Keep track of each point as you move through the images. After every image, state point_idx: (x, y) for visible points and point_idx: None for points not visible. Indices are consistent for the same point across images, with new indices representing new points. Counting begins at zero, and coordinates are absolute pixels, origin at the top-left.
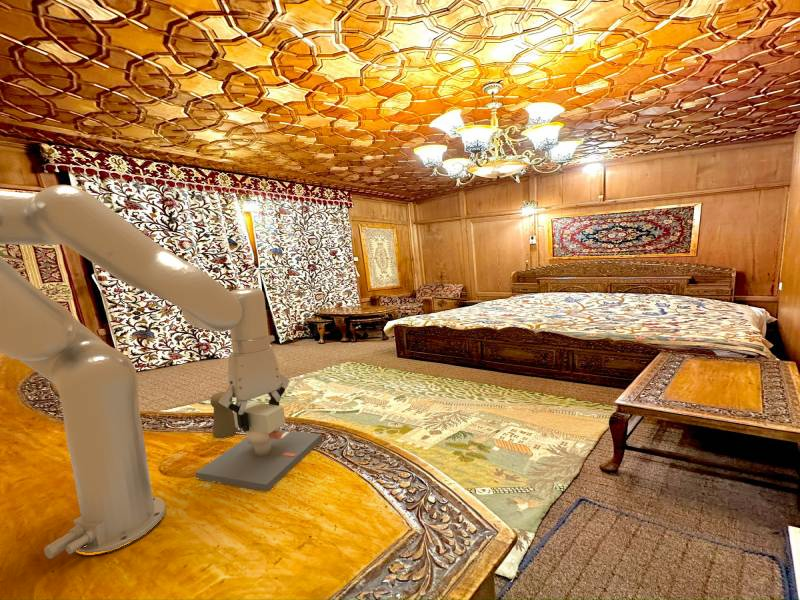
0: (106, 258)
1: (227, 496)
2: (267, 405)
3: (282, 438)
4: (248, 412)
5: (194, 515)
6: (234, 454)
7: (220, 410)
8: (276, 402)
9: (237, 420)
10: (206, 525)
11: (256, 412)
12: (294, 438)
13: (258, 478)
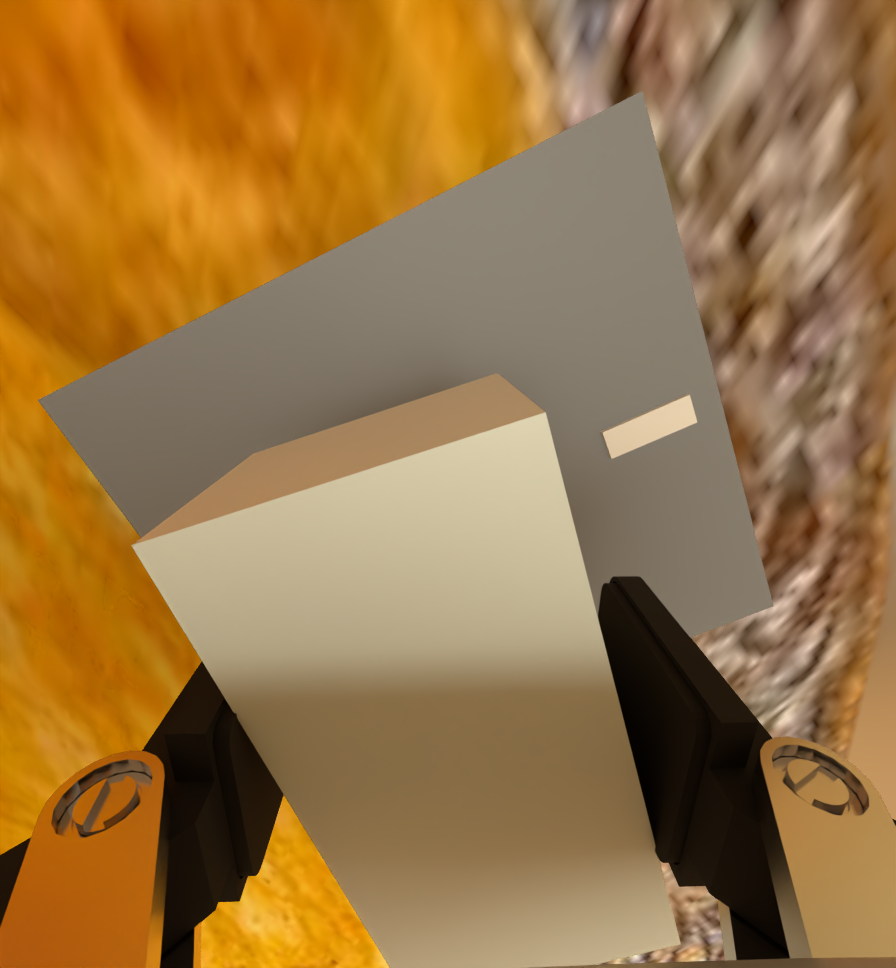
0: None
1: (188, 660)
2: (593, 797)
3: (614, 454)
4: (300, 808)
5: (49, 675)
6: (297, 387)
7: None
8: (700, 878)
9: (187, 687)
10: (87, 754)
11: (377, 876)
12: (655, 520)
13: None
